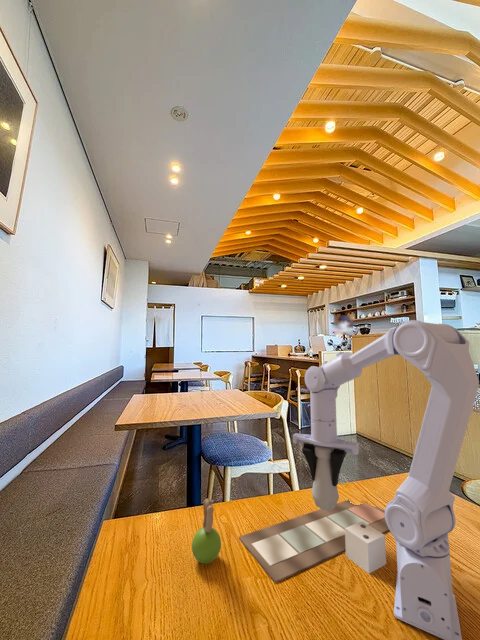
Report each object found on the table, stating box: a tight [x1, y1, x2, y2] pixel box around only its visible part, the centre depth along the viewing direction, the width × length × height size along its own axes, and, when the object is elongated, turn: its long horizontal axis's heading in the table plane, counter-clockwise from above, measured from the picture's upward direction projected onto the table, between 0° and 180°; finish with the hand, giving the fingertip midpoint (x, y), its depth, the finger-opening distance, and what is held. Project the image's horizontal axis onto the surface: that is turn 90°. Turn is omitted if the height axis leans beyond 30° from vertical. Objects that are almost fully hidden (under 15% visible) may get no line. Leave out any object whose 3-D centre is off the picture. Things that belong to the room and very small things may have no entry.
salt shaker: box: [311, 445, 340, 511], centre depth 62 cm, size 6×6×13 cm
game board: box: [238, 499, 390, 584], centre depth 61 cm, size 37×13×1 cm, turn 119°
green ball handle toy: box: [191, 498, 222, 565], centre depth 52 cm, size 5×6×12 cm
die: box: [345, 521, 387, 574], centre depth 52 cm, size 5×5×5 cm
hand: (325, 481), depth 62 cm, fingers closed on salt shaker, 4 cm apart
